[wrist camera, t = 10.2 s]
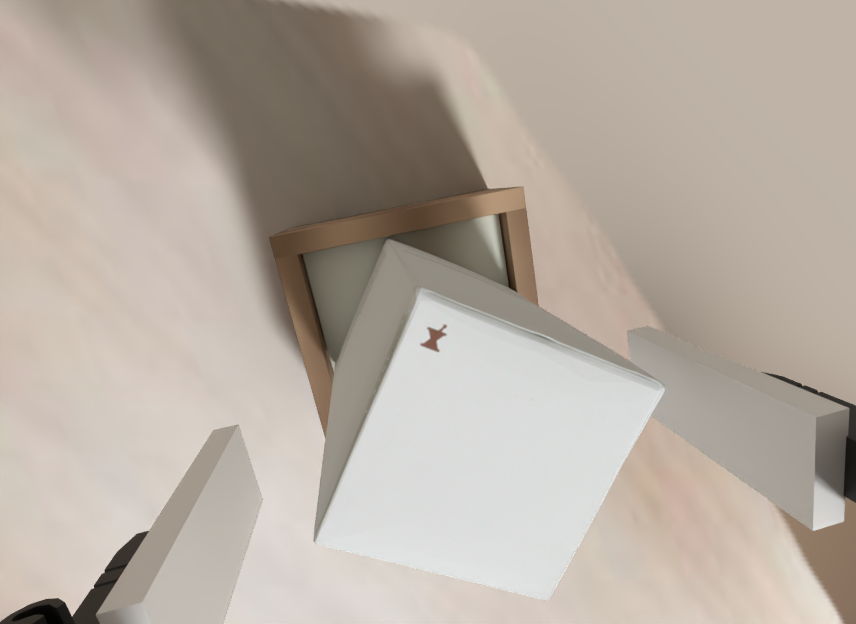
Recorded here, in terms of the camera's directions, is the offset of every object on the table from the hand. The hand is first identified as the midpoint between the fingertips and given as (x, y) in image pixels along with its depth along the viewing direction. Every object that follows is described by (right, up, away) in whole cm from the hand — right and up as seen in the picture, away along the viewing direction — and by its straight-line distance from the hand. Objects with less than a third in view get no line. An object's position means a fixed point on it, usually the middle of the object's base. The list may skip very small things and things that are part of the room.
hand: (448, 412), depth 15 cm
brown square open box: (-2, +4, +14) cm, 14 cm away
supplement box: (-1, +3, +9) cm, 9 cm away
